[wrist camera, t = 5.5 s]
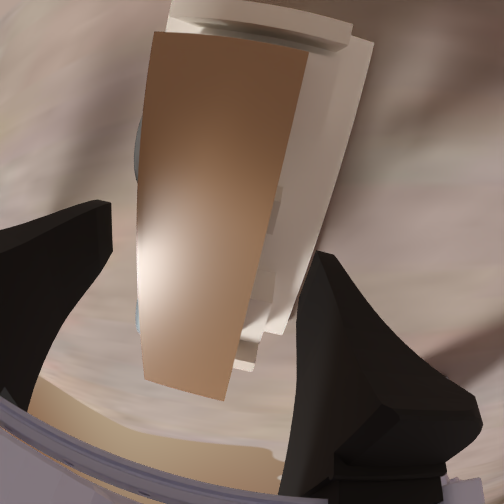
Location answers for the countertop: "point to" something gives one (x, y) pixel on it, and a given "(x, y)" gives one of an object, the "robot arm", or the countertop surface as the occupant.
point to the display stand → (291, 141)
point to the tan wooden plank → (206, 197)
